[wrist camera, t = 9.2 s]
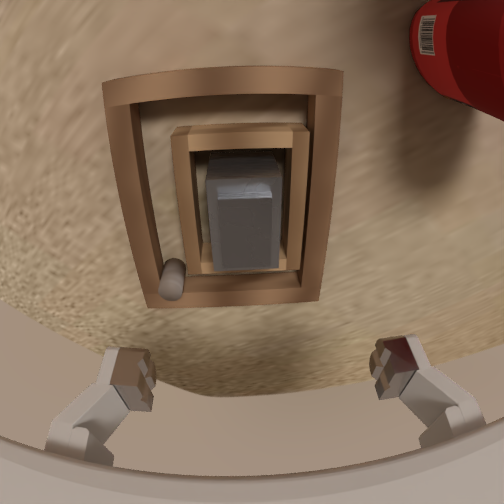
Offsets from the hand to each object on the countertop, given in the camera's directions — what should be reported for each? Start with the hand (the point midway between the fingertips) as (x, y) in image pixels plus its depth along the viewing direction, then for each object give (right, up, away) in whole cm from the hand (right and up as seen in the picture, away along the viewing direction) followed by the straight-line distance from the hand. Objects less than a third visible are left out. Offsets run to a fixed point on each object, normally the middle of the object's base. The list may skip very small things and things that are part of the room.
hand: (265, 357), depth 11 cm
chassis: (-1, +8, +12) cm, 14 cm away
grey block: (-1, +8, +12) cm, 14 cm away
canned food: (+14, +18, +6) cm, 24 cm away
